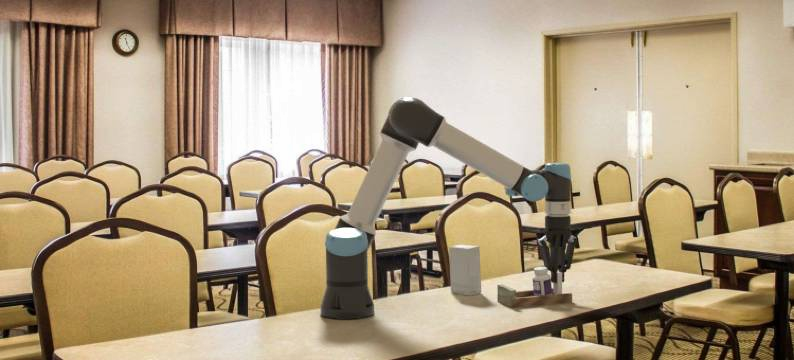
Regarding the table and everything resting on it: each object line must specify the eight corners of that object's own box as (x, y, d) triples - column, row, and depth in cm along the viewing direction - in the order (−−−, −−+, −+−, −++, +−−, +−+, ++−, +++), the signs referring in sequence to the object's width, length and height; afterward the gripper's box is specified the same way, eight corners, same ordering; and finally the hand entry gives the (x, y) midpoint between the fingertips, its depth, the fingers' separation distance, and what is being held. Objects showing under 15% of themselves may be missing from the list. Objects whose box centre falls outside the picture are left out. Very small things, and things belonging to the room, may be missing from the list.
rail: (511, 307, 259) (511, 290, 259) (497, 301, 268) (497, 284, 267) (572, 301, 266) (572, 285, 266) (556, 296, 274) (556, 279, 274)
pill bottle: (552, 296, 270) (549, 265, 269) (553, 301, 265) (550, 269, 264) (534, 298, 271) (530, 266, 270) (535, 303, 265) (531, 270, 264)
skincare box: (481, 293, 279) (481, 246, 278) (468, 296, 275) (468, 248, 274) (461, 289, 285) (461, 243, 284) (448, 292, 281) (448, 245, 280)
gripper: (544, 217, 262) (544, 297, 264) (583, 215, 266) (583, 294, 268) (532, 214, 269) (532, 292, 271) (570, 212, 273) (570, 289, 275)
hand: (557, 293), depth 269 cm, fingers closed
